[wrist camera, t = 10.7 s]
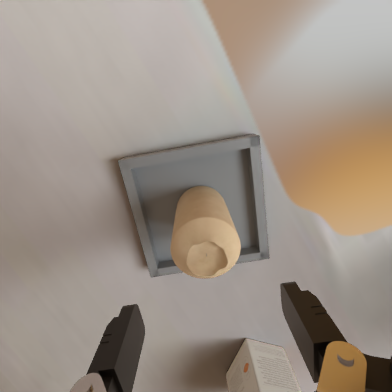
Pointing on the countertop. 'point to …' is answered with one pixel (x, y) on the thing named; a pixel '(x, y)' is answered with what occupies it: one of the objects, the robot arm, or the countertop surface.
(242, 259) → the rest tray
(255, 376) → the small box
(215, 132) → the countertop surface
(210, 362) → the countertop surface
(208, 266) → the candle
